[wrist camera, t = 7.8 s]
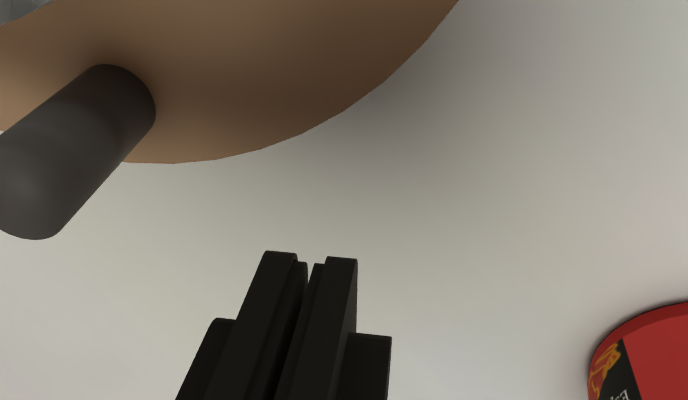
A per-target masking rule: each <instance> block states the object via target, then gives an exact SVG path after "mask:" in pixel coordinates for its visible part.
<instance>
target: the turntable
mask: <svg viewBox="0 0 688 400" xmlns="http://www.w3.org/2000/svg"><path fill="white" fill-rule="evenodd" d="M457 2H458V0H54V1H53V2H51V3H49V4H47V5H45V6H43V7H41V8H39V9H37V10H35V11H33V12H31V13H29V14H27V15H26V16H24V17H21V18H19V19H16V20H13V21H11V22H8V23H6V24H3V25H0V130H1V131H4V133H2V134H1V135H0V230H2V231H4V232H6V233H8V234H10V235H13V236H16V237H19V238H23V239H30V240H41V239H46V238H49V237H52V236H54V235H56V234H57V233H58V232H59V231H60V230H61V229H62V228H63V227H64V226H65V225H66V224H67V223H68V222H69V220H70V219H71V218H72V217H73V216H74V215H75V214H76V213H77V211H78V210H79V209H80V208H81V207H82V206H83V205H84V204H85V202H86V201H87V200H88V199H89V198H90V197H91V196H92V195H93V193H94V192H95V191H96V190H97V189H98V188H99V187H100V186H101V184H102V183H103V182H104V181H105V180H106V179H107V178H108V177H109V175H110V174H111V173H112V172H113V171H114V170H115V169H116V168H117V167H118V165H119V164H120V163H121V162H128V163H165V164H175V163H185V162H196V161H206V160H216V159H221V158H225V157H229V156H234V155H238V154H242V153H247V152H251V151H255V150H259V149H262V148H265V147H267V146H270V145H273V144H275V143H278V142H281V141H283V140H286V139H289V138H291V137H294V136H297V135H299V134H302V133H304V132H306V131H307V130H309V129H311V128H313V127H315V126H317V125H319V124H320V123H322V122H324V121H326V120H328V119H330V118H332V117H333V116H335V115H337V114H339V113H341V112H343V111H344V110H346V109H347V108H348V107H350V106H351V105H352V104H354V103H355V102H357V101H358V100H359V99H361V98H362V97H363V96H365V95H366V94H368V93H369V92H370V91H372V90H373V89H374V88H376V87H377V86H379V85H380V84H381V83H383V82H384V81H385V80H386V79H387V78H388V77H389V76H390V75H391V74H392V73H393V72H394V71H395V70H396V69H398V68H399V67H400V66H401V65H402V64H403V63H404V62H405V61H406V60H407V59H408V58H409V57H410V56H411V55H412V54H413V53H414V52H415V51H416V50H417V49H419V48H420V47H421V46H422V45H423V43H424V42H425V41H426V40H427V39H428V37H429V36H430V35H431V34H432V32H433V31H434V30H435V29H436V27H437V26H438V25H439V24H440V23H441V21H442V20H443V19H444V18H445V16H446V15H447V14H448V13H449V11H450V10H451V9H452V8H453V6H454V5H455V4H456V3H457Z"/></svg>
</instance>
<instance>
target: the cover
mask: <svg viewBox="0 0 688 400" xmlns="http://www.w3.org/2000/svg"><path fill="white" fill-rule="evenodd" d="M53 1H54V0H0V25H3V24H6V23H8V22H11V21H13V20H16V19H19V18H21V17H24V16H26V15H27V14H29V13H31V12H33V11H35V10H37V9H39V8H41V7H43V6H45V5H47V4H49V3H51V2H53Z"/></svg>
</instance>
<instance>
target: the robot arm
mask: <svg viewBox="0 0 688 400" xmlns="http://www.w3.org/2000/svg"><path fill="white" fill-rule="evenodd" d="M357 273H358V262H357V259H352V258H341V257H331V256H327V258H326V261H325V264H320V263H315V264H314V266H313V270H312V273H311V276H310V280H309V283H308V267H307V263H306V262H299V261H298V258H297V254H296V253H288V252H278V251H265V253H264V254H263V256H262V259H261V261H260V264H259V266H258V268H257V271H256V273H255V276H254V278H253V280H252V283H251V285H250V287H249V290H248V292H247V295H246V297H245V299H244V302H243V304H242V306H241V309H240V311H239V314H238V316H237V318H236V320H234V319H225V318H216V319H214V320H213V321H212V323H211V325H210V326H209V328H208V330H207V332H206V335H205V337H204V339H203V341H202V343H201V345H200V347H199V350H198V352H197V354H196V356H195V358H194V360H193V362H192V365H191V367H190V369H189V371H188V373H187V375H186V377H185V380H184V382H183V384H182V386H181V388H180V390H179V392H178V395H177V397H176V399H175V400H387V397H388V385H389V373H390V360H391V345H392V337H390V336H381V335H372V334H363V333H356V317H357Z"/></svg>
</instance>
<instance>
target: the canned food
mask: <svg viewBox="0 0 688 400" xmlns="http://www.w3.org/2000/svg"><path fill="white" fill-rule="evenodd" d="M587 385H588V398H589V400H688V302H687V303H681V304H676V305H671V306H666V307H662V308H659V309H656V310H653V311H650V312H647V313H644V314H642V315H640V316H638V317H636V318H634V319H632V320H630V321H628V322H626V323H624V324H623V325H621V326H620V327H619V328H617V329H616V330H614V331H613V332H612V333H610V334H609V336H608V337H607V338H606V339H605V340H604V341H603V342H602V343H601V344H600V345H599V347H598V349H597V350H596V352H595V354H594V355H593V358H592V362H591V366H590V371H589V377H588V384H587Z"/></svg>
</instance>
